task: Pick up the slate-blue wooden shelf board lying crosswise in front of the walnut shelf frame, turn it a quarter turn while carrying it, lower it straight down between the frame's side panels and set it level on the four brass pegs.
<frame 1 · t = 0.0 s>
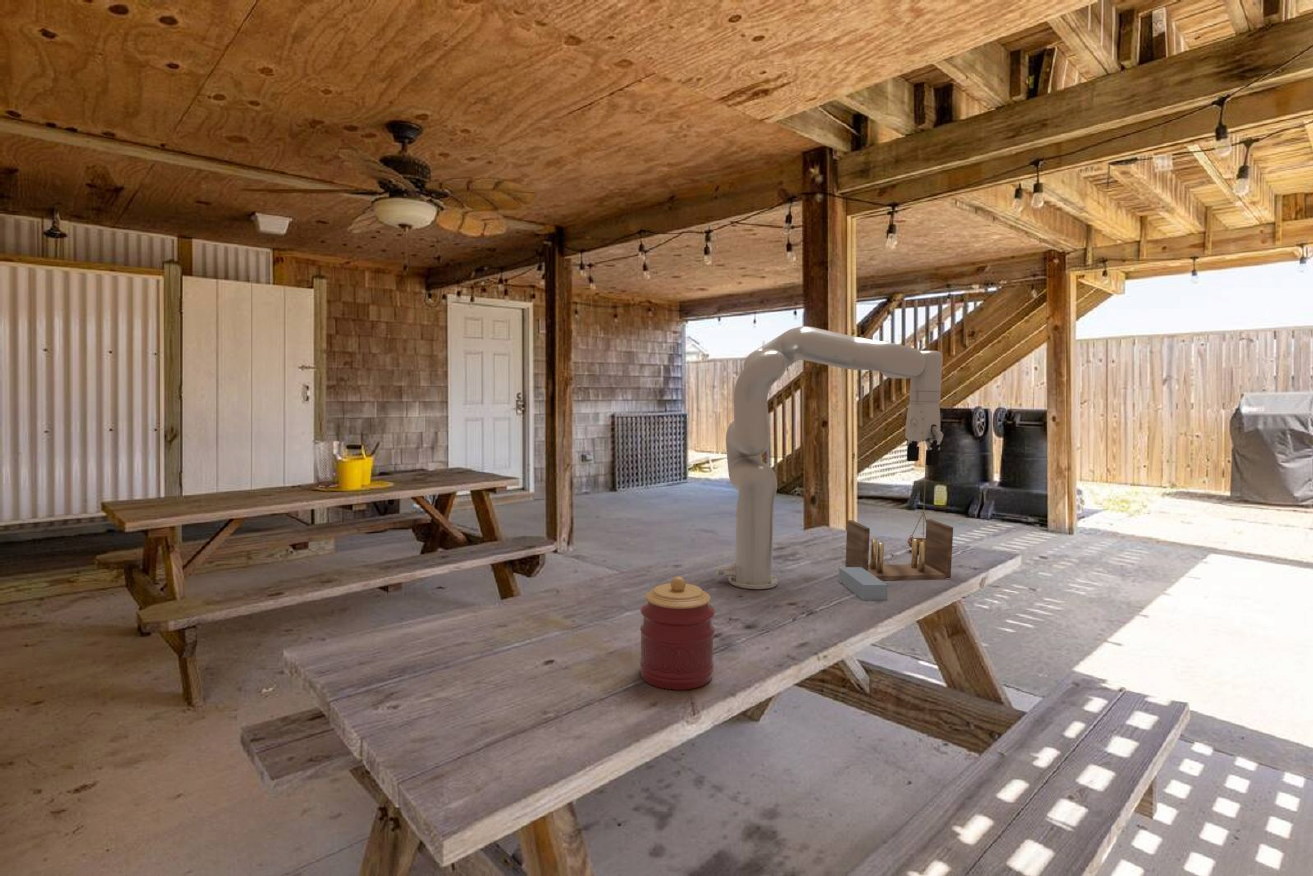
hand: (921, 463, 182), 31 cm above the table, tool pointing down, fingers open, 9 cm apart
canister: (676, 676, 121), on the table
shelf frame: (896, 574, 189), on the table
shelf board: (861, 591, 174), on the table
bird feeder: (922, 553, 214), on the table
shelf pegs: (897, 555, 189), point 5 cm above the table
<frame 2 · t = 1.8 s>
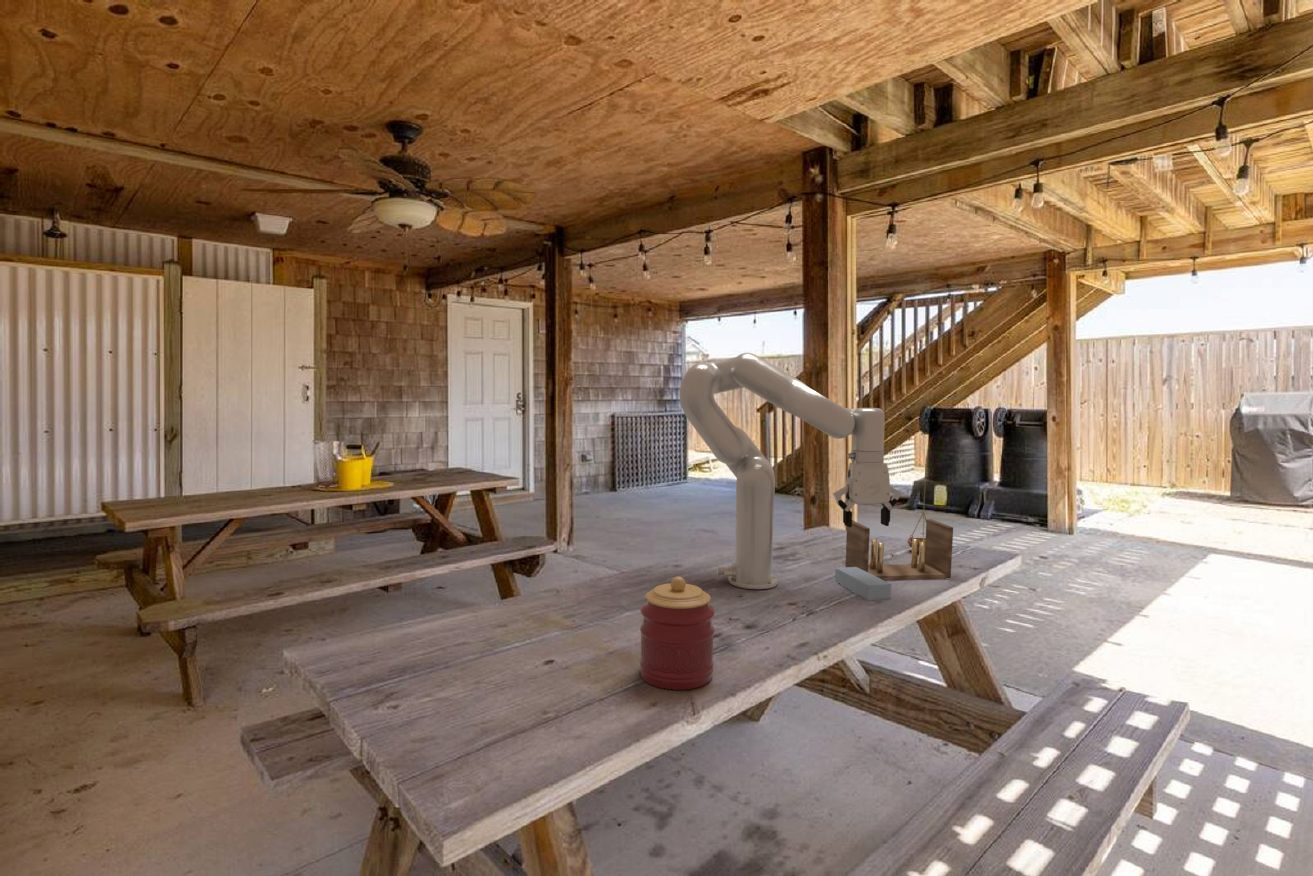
hand: (866, 525, 173), 16 cm above the table, tool pointing down, fingers open, 9 cm apart
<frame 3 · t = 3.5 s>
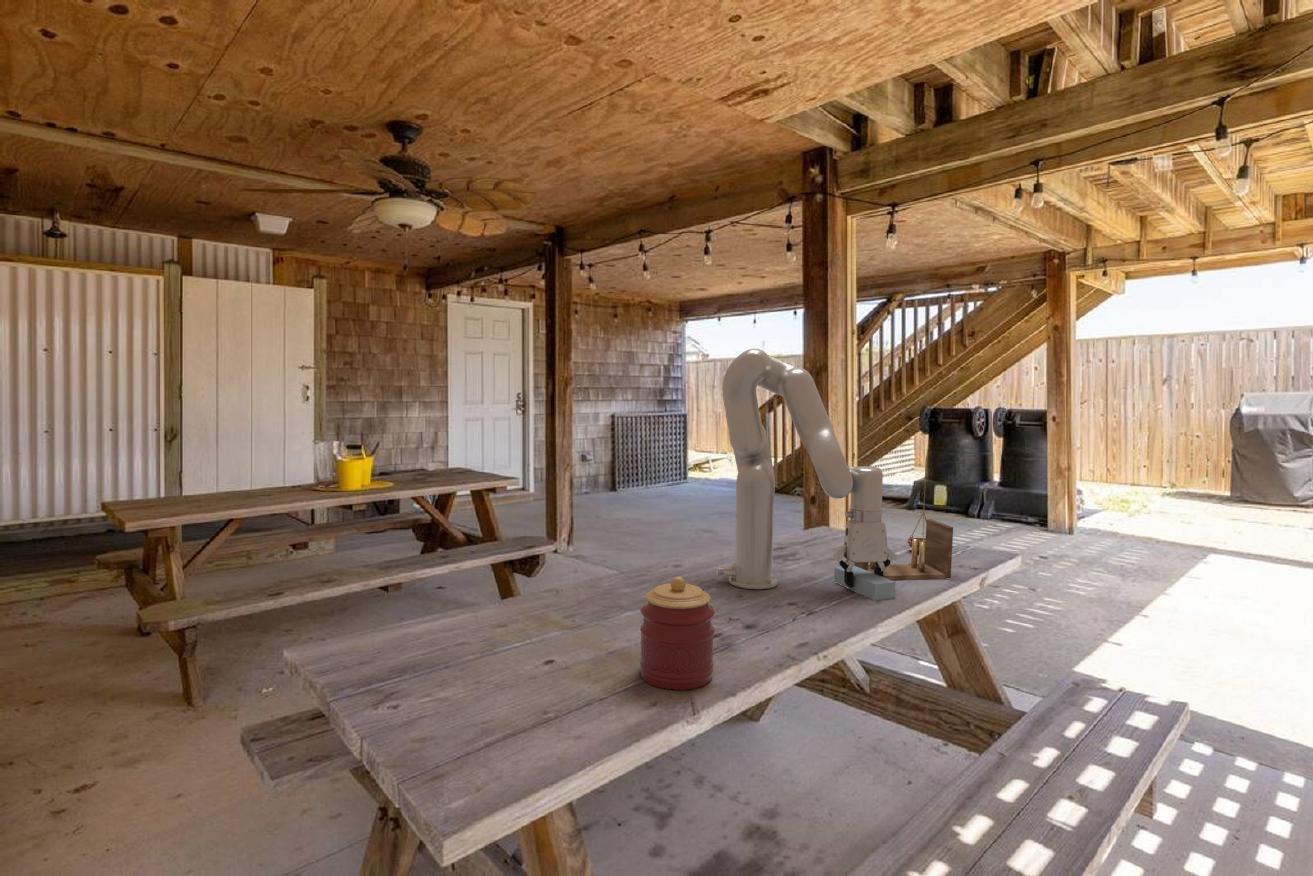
hand: (863, 585, 174), 1 cm above the table, tool pointing down, fingers closed on shelf board, 7 cm apart
shelf board: (863, 590, 174), on the table, touching gripper
everything else where it was.
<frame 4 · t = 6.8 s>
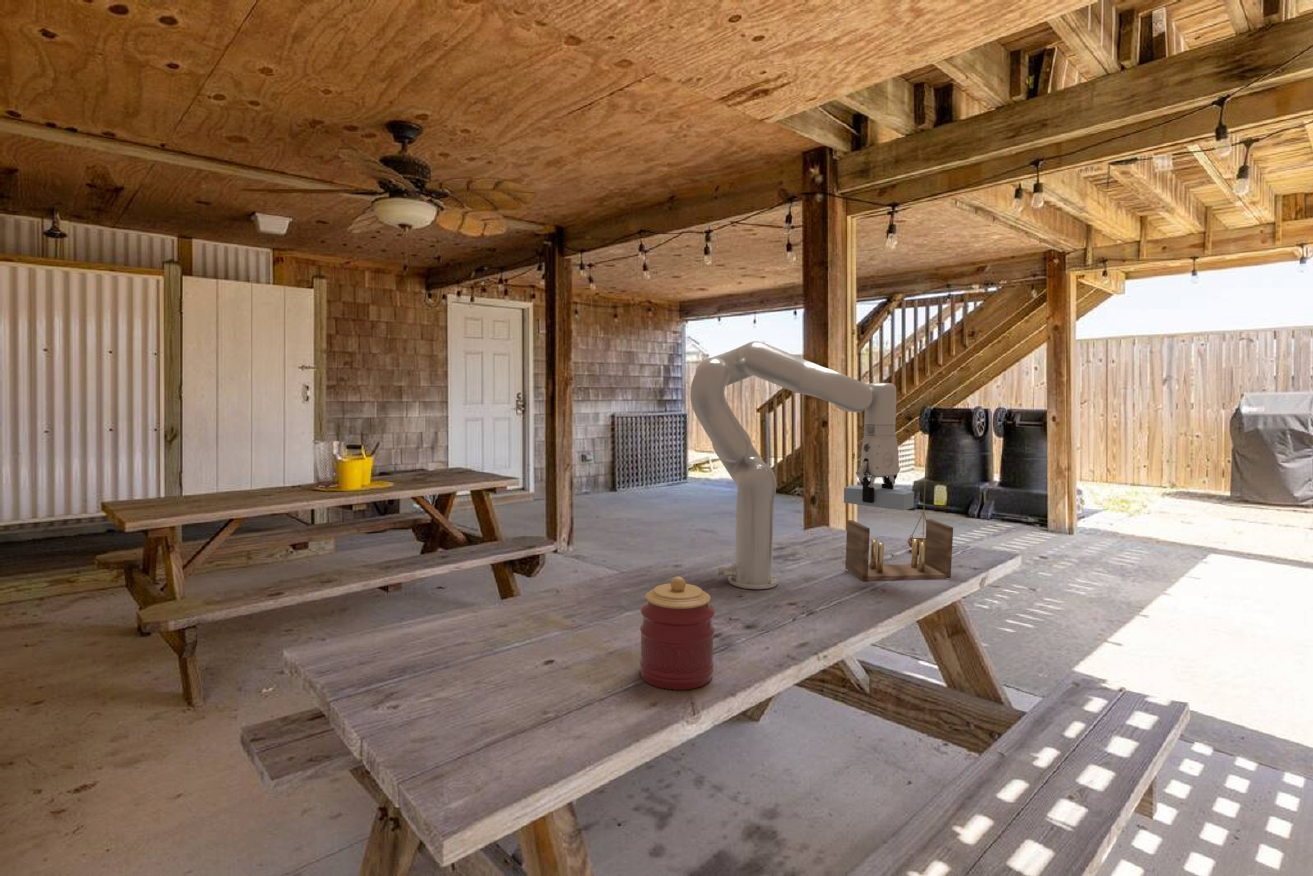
hand: (877, 500, 177), 22 cm above the table, tool pointing down, fingers closed on shelf board, 6 cm apart
shelf board: (878, 505, 177), point 21 cm above the table, touching gripper
everything else where it was.
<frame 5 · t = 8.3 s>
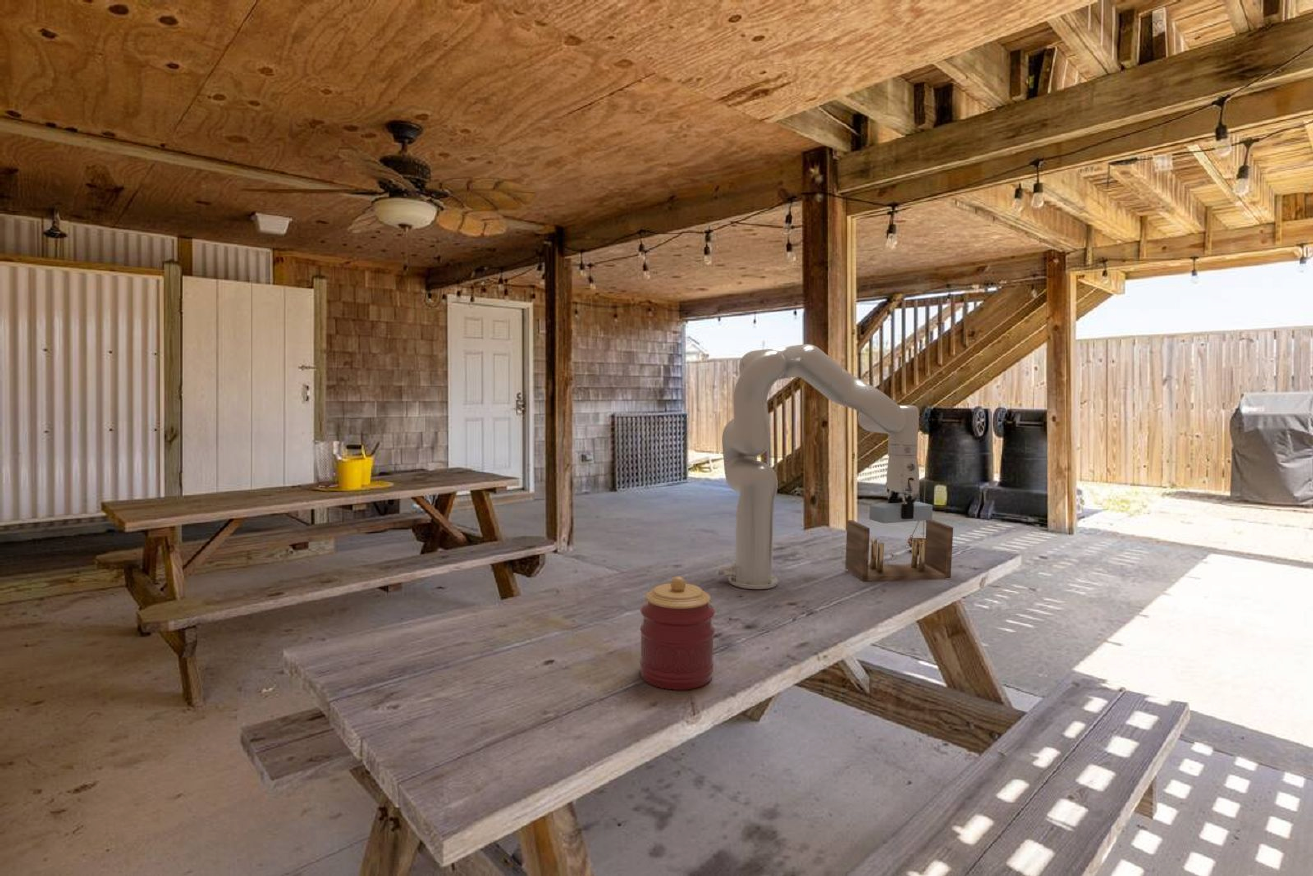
hand: (900, 515, 188), 16 cm above the table, tool pointing down, fingers closed on shelf board, 6 cm apart
shelf board: (900, 519, 188), point 15 cm above the table, touching gripper
everything else where it was.
when the fingers open (11 cm above the table, at t = 9.9 s): shelf board stays where it is, resting on shelf pegs.
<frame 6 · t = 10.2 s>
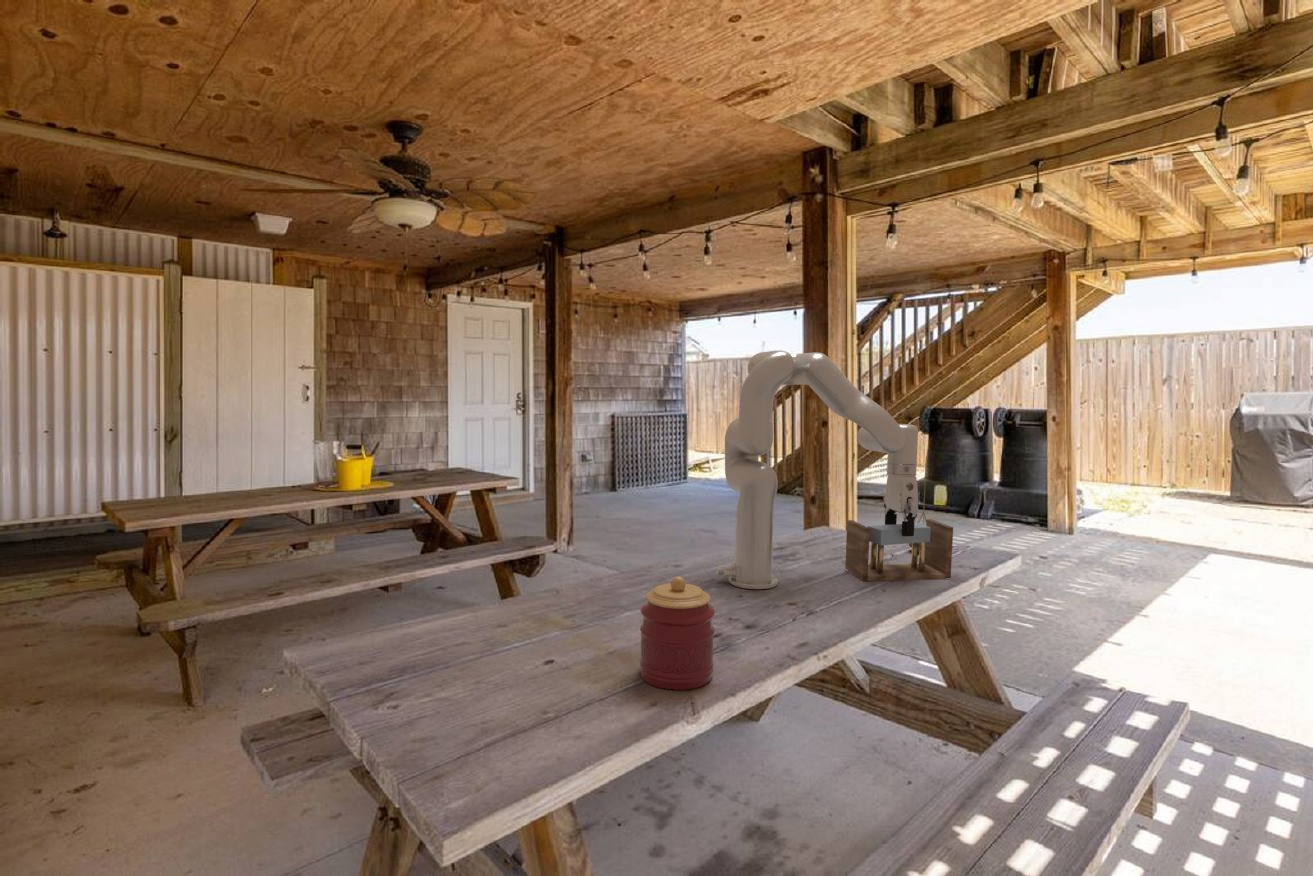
hand: (898, 532, 188), 12 cm above the table, tool pointing down, fingers open, 9 cm apart
shelf board: (898, 541, 188), point 9 cm above the table, touching shelf pegs
everything else where it was.
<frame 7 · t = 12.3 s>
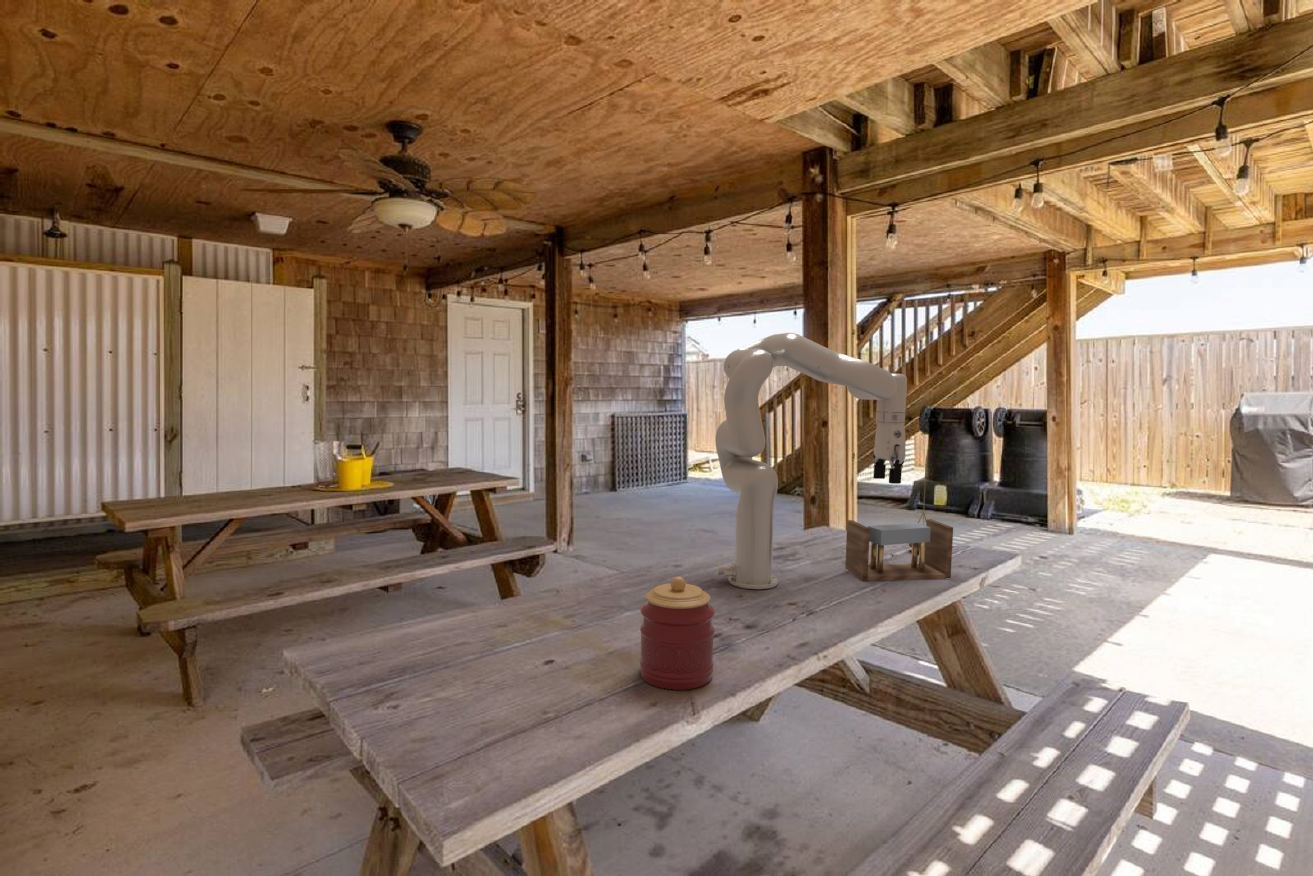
hand: (886, 480, 190), 25 cm above the table, tool pointing down, fingers open, 9 cm apart
nothing on the table moved.
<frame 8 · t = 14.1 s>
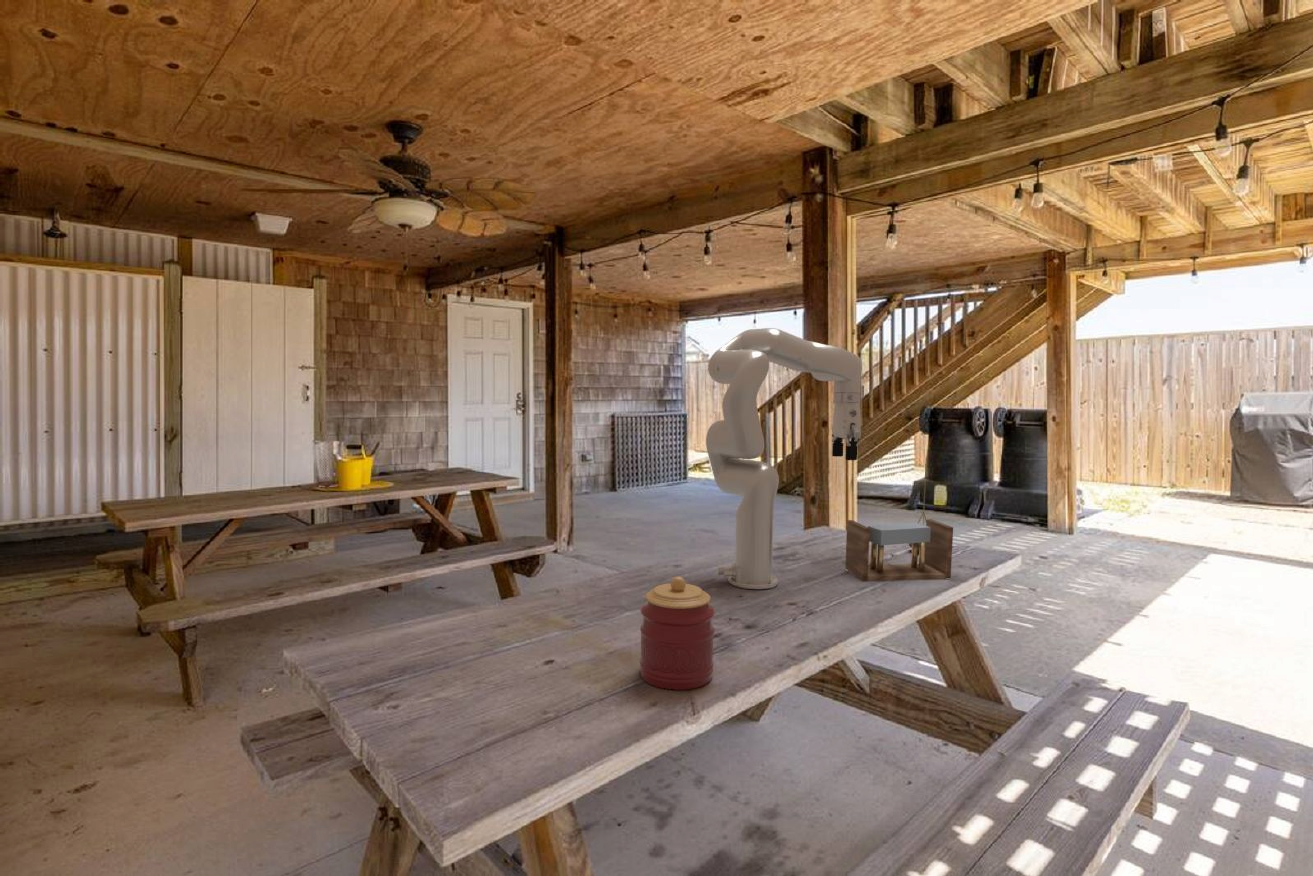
hand: (844, 458, 200), 30 cm above the table, tool pointing down, fingers open, 9 cm apart
nothing on the table moved.
at the end: shelf board 0.0 cm off-centre on the shelf frame, point 9.2 cm above the shelf frame's base; shelf board tilted 0°; the gripper is holding nothing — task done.
